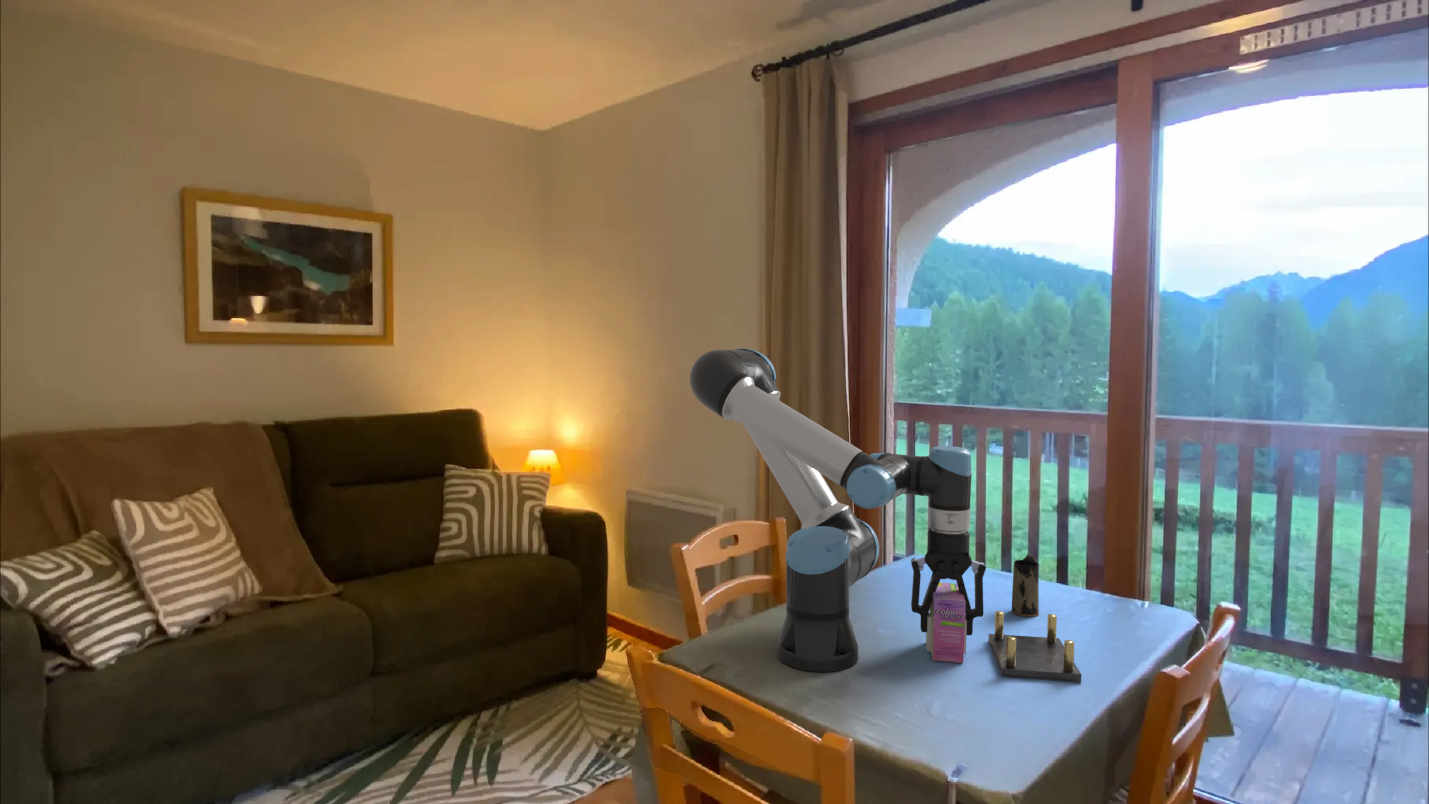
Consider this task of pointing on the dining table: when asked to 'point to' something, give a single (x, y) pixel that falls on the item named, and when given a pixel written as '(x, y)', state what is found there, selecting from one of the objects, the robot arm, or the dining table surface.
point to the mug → (1025, 587)
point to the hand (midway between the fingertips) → (945, 649)
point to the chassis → (1033, 654)
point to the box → (948, 623)
